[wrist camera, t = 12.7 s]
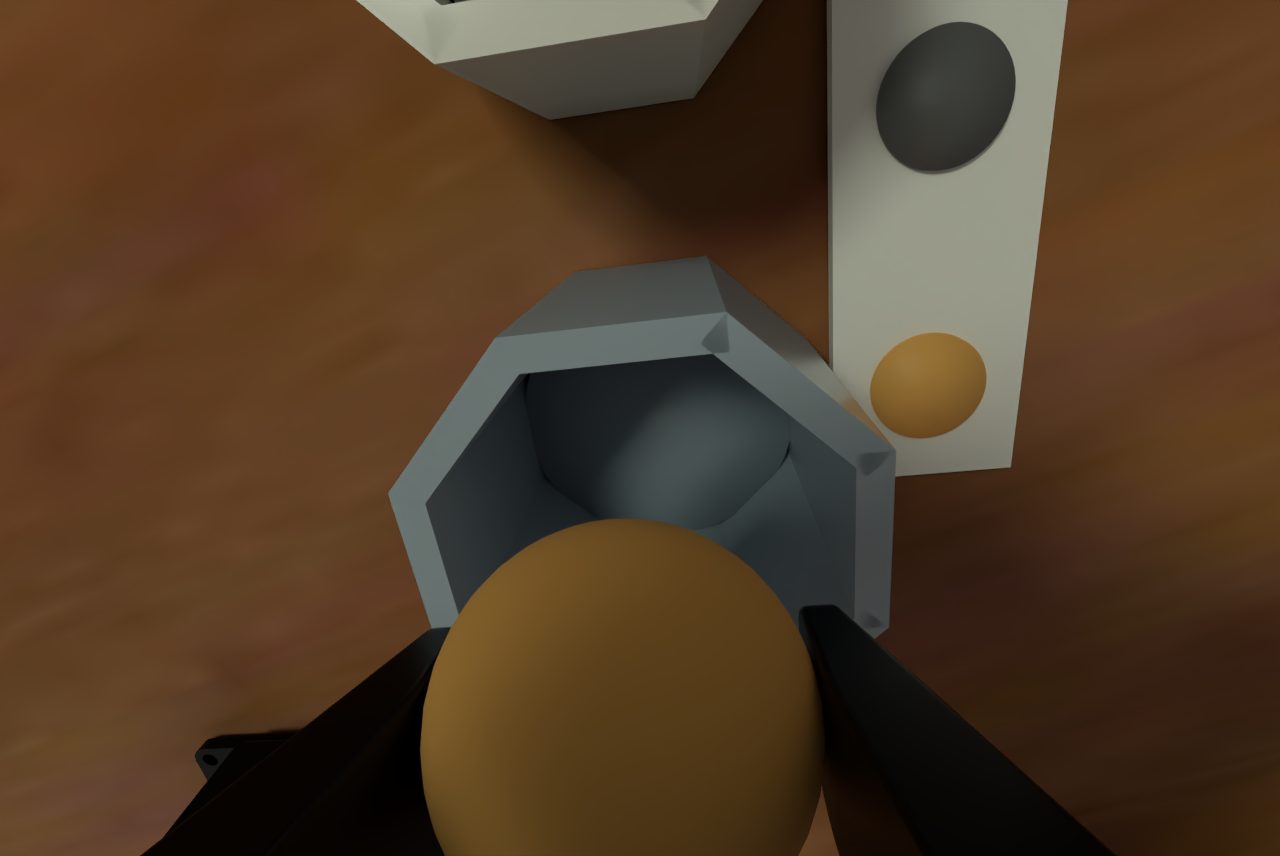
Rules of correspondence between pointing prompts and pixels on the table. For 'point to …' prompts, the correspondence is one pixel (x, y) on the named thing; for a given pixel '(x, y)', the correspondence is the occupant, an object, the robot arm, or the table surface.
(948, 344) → the card
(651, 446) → the slate cup
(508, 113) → the table surface
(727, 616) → the orange ball
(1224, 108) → the table surface
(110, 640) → the table surface
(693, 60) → the cream cup
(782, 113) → the table surface
